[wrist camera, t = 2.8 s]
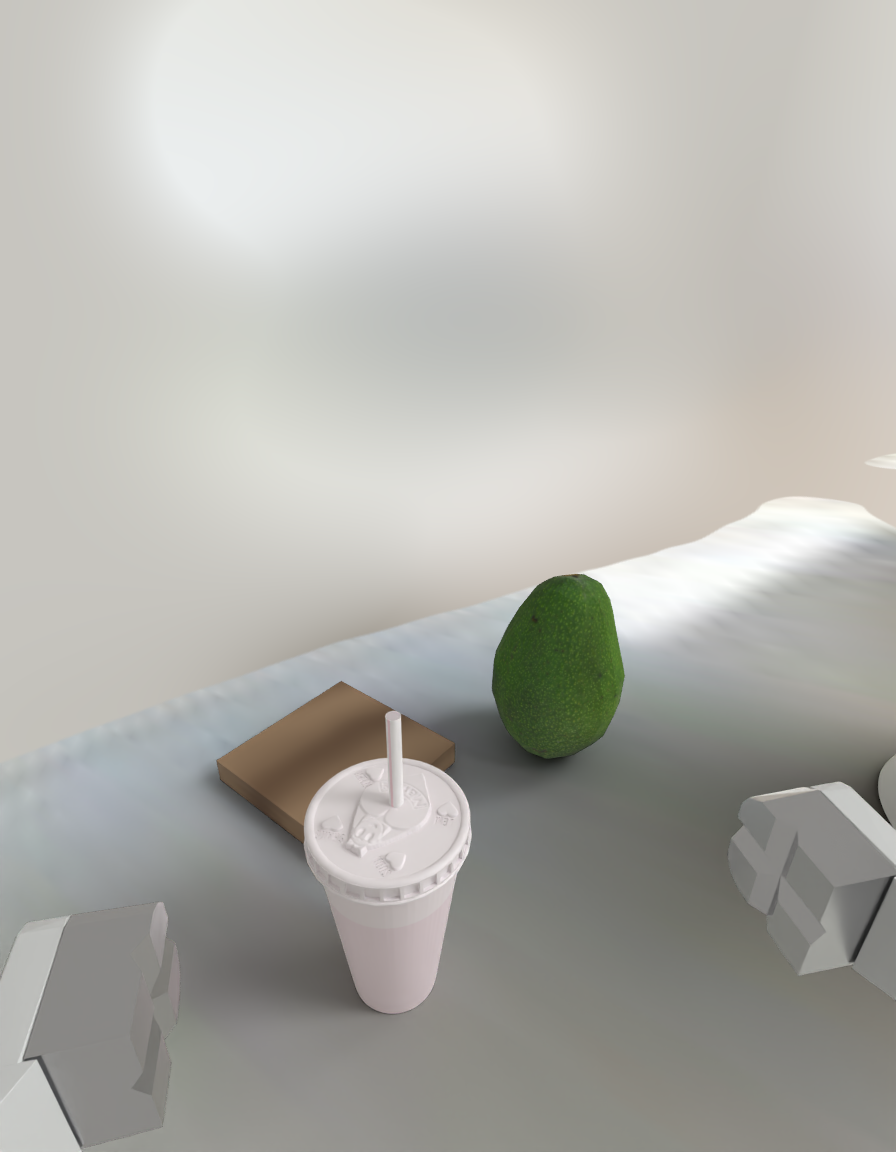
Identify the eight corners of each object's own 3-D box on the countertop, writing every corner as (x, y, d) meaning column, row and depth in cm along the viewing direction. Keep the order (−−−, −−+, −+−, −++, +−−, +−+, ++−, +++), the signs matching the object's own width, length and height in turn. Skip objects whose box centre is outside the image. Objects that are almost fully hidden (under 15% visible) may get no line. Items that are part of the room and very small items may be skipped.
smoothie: (493, 950, 30) (508, 707, 24) (412, 1084, 26) (403, 825, 19) (382, 883, 34) (369, 652, 27) (291, 992, 29) (248, 742, 22)
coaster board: (454, 761, 41) (455, 743, 41) (335, 868, 34) (333, 848, 34) (342, 698, 47) (341, 681, 46) (220, 779, 40) (216, 760, 39)
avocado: (633, 737, 43) (662, 574, 38) (570, 806, 38) (593, 629, 33) (532, 687, 48) (544, 536, 42) (463, 744, 43) (467, 579, 37)
